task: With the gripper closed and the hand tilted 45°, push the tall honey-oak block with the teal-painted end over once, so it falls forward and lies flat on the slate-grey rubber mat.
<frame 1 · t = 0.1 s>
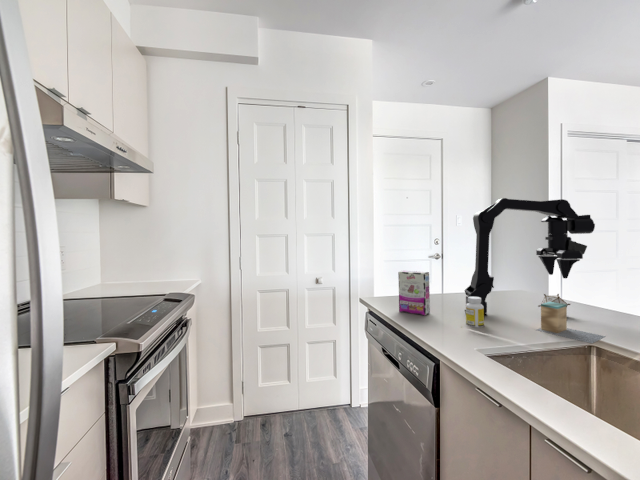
hand: (557, 276, 112), 15 cm above the worktop, tool pointing down, fingers open, 9 cm apart
game die: (553, 316, 113), on the worktop
supplement bottle: (474, 327, 103), on the worktop
candy bar box: (414, 312, 122), on the worktop
oak block: (553, 329, 96), point 1 cm above the worktop, touching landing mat
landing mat: (569, 334, 93), on the worktop
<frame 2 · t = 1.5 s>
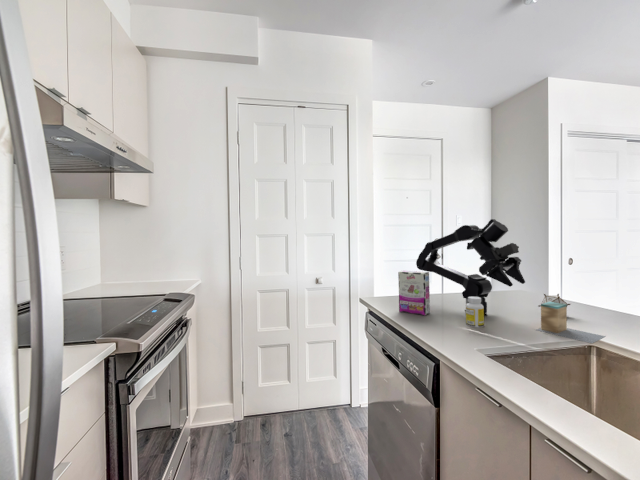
hand: (518, 284, 105), 13 cm above the worktop, tool tilted 45°, fingers open, 8 cm apart
nothing on the worktop moved.
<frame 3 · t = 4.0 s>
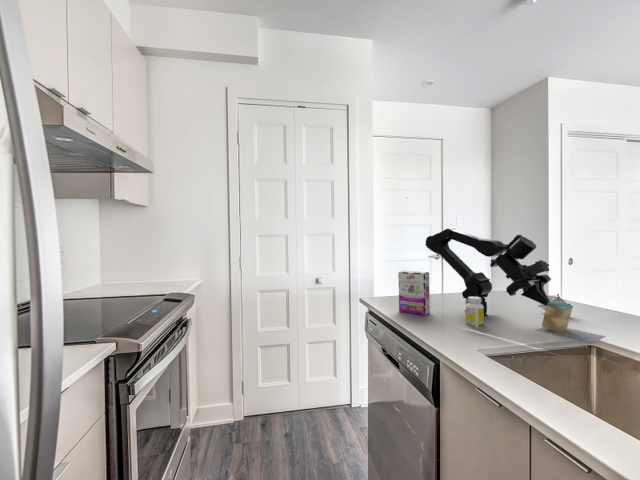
hand: (550, 305, 97), 8 cm above the worktop, tool tilted 45°, fingers closed
oak block: (553, 328, 96), point 1 cm above the worktop, tilted 12°, touching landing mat
everything else where it was.
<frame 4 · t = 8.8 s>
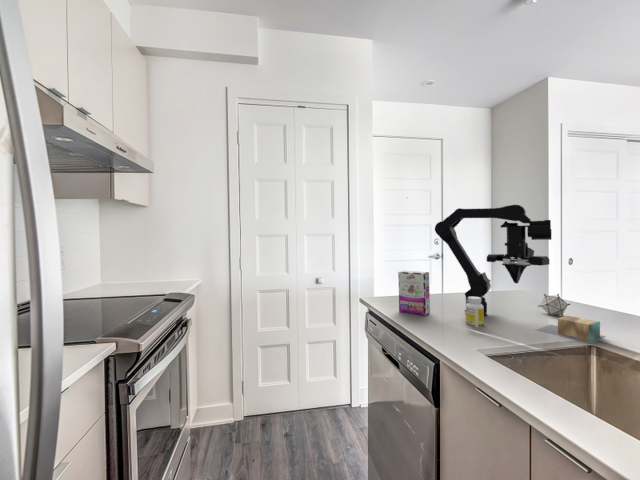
hand: (516, 283, 110), 13 cm above the worktop, tool pointing down, fingers closed
oak block: (562, 324, 94), point 3 cm above the worktop, tilted 90°, touching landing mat
everything else where it was.
at the end: oak block tilted 90°; oak block inside the target area on the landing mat (0.8 cm from its centre), point 2.8 cm above the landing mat's base; oak block touching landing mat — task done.
